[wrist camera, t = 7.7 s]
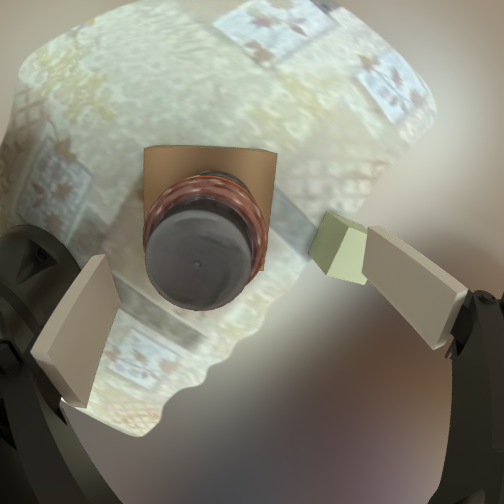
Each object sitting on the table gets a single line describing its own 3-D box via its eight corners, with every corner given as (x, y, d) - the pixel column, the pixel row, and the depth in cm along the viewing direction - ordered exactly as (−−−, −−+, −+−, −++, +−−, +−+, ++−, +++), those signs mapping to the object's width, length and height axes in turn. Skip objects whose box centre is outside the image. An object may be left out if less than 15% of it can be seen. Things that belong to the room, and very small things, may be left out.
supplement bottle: (177, 168, 19) (118, 175, 8) (257, 173, 20) (290, 184, 9) (174, 245, 21) (127, 325, 10) (250, 249, 21) (270, 335, 11)
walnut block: (155, 246, 26) (147, 269, 22) (155, 145, 22) (144, 148, 18) (253, 247, 28) (263, 270, 24) (263, 149, 24) (277, 153, 20)
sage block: (307, 252, 29) (326, 275, 25) (326, 210, 27) (348, 227, 23) (343, 263, 31) (364, 284, 26) (361, 224, 29) (386, 241, 24)
